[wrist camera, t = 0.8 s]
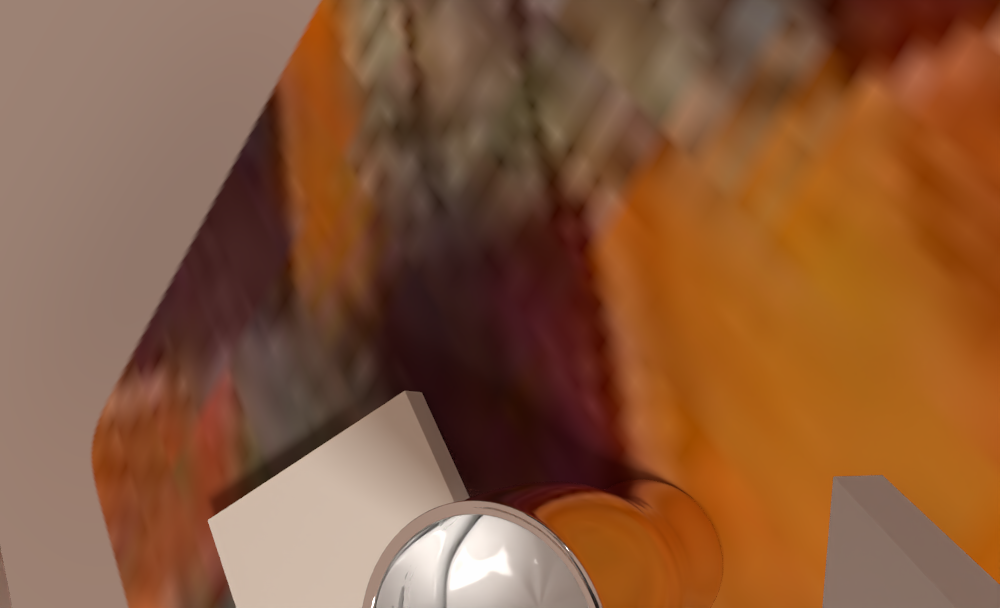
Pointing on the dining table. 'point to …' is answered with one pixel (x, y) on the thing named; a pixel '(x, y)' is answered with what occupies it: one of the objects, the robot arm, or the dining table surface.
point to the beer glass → (554, 551)
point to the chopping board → (336, 511)
